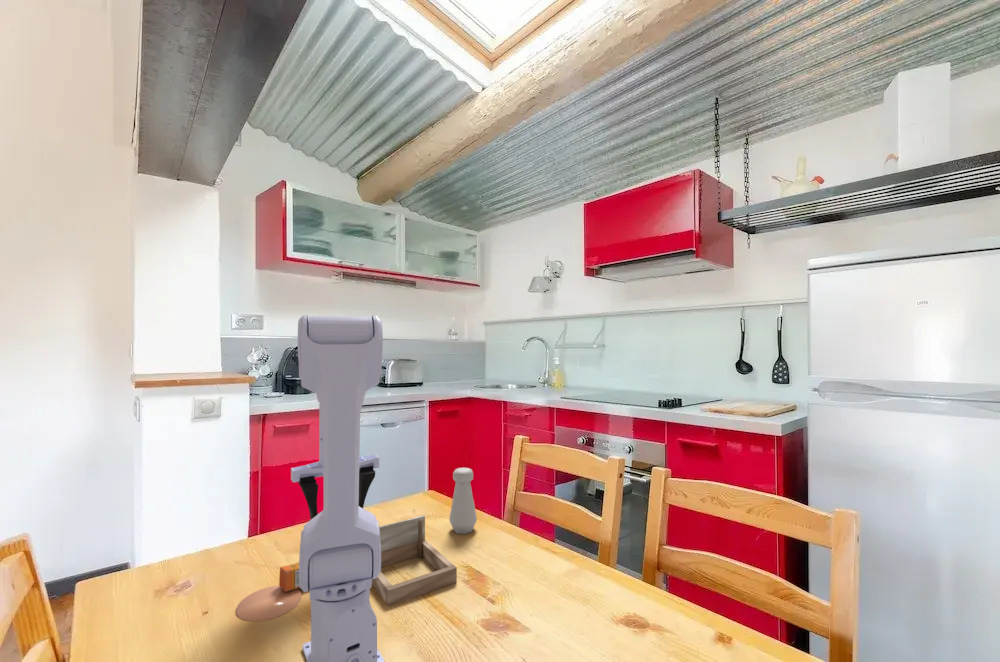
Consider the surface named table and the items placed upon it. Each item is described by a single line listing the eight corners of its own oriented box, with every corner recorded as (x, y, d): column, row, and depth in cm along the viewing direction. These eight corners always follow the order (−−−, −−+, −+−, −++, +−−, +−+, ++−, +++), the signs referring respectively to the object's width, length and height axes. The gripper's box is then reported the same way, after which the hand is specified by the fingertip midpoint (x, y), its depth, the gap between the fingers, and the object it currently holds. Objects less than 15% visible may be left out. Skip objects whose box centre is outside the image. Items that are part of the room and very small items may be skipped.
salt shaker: (472, 537, 93) (472, 474, 93) (446, 534, 95) (445, 472, 95) (479, 525, 99) (479, 466, 99) (454, 523, 100) (454, 464, 100)
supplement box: (279, 564, 75) (339, 550, 82) (278, 586, 74) (338, 571, 81) (286, 569, 73) (346, 555, 79) (284, 592, 72) (346, 576, 79)
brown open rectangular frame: (456, 582, 77) (456, 540, 77) (388, 606, 70) (388, 561, 70) (423, 551, 87) (423, 515, 87) (361, 570, 81) (361, 530, 81)
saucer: (306, 609, 69) (306, 605, 69) (238, 631, 64) (238, 627, 64) (295, 582, 77) (295, 579, 77) (233, 600, 72) (233, 597, 72)
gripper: (370, 428, 87) (370, 499, 87) (287, 438, 78) (287, 516, 78) (383, 435, 81) (383, 511, 81) (295, 446, 73) (295, 531, 73)
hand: (337, 515), depth 79 cm, fingers open, 7 cm apart
